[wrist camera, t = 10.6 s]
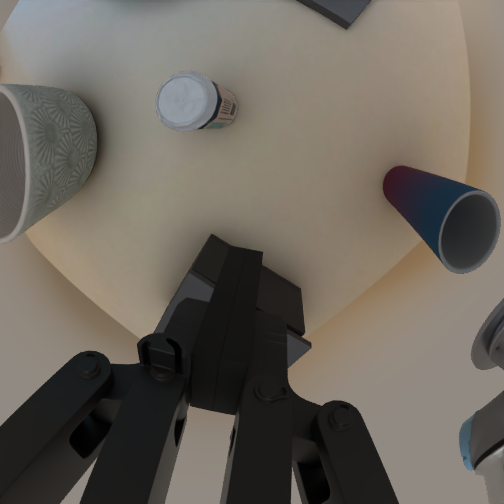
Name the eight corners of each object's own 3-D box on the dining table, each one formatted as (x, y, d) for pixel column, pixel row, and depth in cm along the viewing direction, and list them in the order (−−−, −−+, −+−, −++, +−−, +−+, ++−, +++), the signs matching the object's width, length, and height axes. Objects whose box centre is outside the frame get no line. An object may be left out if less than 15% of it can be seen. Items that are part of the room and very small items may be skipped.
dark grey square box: (301, 288, 37) (305, 333, 29) (246, 347, 42) (239, 391, 34) (211, 233, 34) (191, 268, 27) (168, 304, 40) (147, 344, 32)
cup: (398, 223, 32) (459, 288, 18) (364, 185, 30) (423, 235, 17) (433, 187, 29) (509, 233, 15) (402, 146, 27) (480, 171, 14)
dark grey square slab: (311, 342, 28) (311, 347, 27) (243, 399, 34) (242, 404, 33) (191, 268, 26) (188, 272, 26) (147, 345, 32) (144, 349, 31)
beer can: (220, 79, 26) (187, 56, 16) (246, 111, 28) (227, 103, 17) (187, 106, 28) (138, 99, 17) (212, 137, 29) (175, 145, 19)
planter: (138, 160, 31) (55, 193, 17) (62, 219, 36) (-7, 266, 22) (88, 59, 25) (3, 49, 11) (21, 132, 30) (-52, 153, 16)
